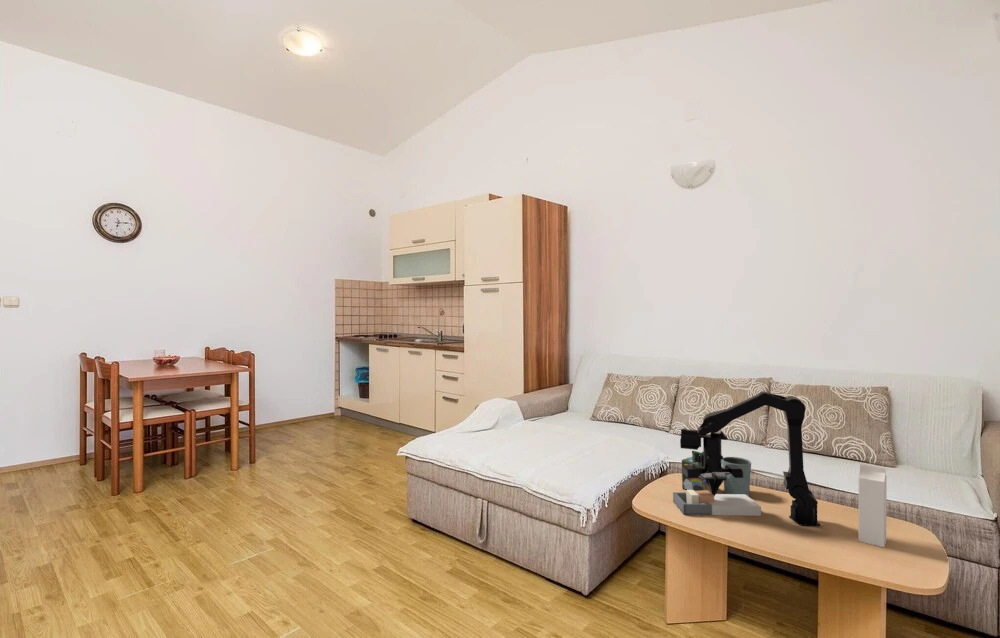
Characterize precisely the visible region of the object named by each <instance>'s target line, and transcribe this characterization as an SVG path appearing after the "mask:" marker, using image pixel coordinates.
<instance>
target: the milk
mask: <svg viewBox="0 0 1000 638" xmlns="http://www.w3.org/2000/svg"><path fill="white" fill-rule="evenodd" d="M886 471H887V470H886V468H884V467H881V466H880V467H879V466H878V467H877V466H873V465H868V464H860V465H859V473H858V542H861V543H865V544H868V545H873V546H875V547H876V546H877V547H880V548H885V546H886V543H887V487H888V486H887V478H888V477H887V473H886Z"/></svg>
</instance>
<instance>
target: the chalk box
mask: <svg viewBox="0 0 1000 638" xmlns="http://www.w3.org/2000/svg"><path fill="white" fill-rule="evenodd" d="M693 453H699V456H702V452H700V451H698V450H691V455H692V454H693ZM684 465H695V466H696V467H697V468H704V467H701V466H700V465H698V463H693V460H692V456H689V457H687V458H683V459H681V484H682V485H681V486H682V487H681V488H685V489H688V490H694V491H701V490H708V491H709V492H710V490H709V487H708V485H707V482H706V480H705V479H703V478H702V477H701V476H699V477H698V478H688V477H687V476H686V475H685V474H684V473H683V467H684ZM685 489H684V490H685Z"/></svg>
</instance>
